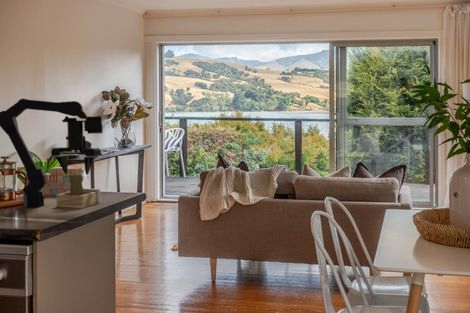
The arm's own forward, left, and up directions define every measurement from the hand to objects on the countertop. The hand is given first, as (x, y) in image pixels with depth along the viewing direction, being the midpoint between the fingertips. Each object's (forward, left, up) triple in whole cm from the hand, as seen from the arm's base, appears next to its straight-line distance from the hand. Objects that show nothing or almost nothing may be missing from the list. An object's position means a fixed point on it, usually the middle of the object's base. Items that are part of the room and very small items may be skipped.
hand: (76, 174), depth 220 cm
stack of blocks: (+9, +35, -13) cm, 39 cm away
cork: (0, 0, -11) cm, 11 cm away
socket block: (0, 0, -12) cm, 12 cm away
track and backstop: (-2, -1, -13) cm, 13 cm away
